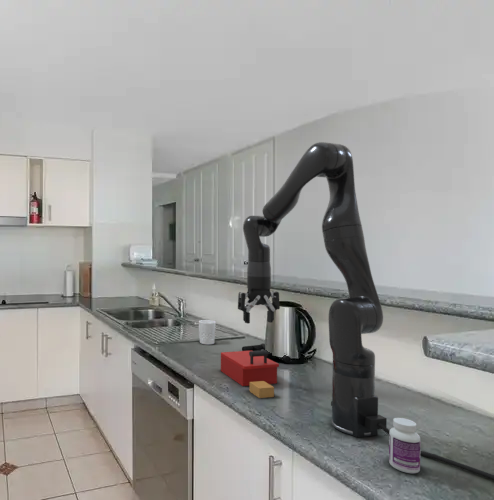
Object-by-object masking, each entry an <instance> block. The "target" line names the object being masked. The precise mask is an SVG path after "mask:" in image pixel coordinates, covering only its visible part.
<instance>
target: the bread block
mask: <svg viewBox="0 0 494 500" xmlns="http://www.w3.org/2000/svg"><path fill="white" fill-rule="evenodd" d="M249 392H250V393H251V394H253V395H254V396H256V397H257V398H258V399H265V398H266V399H267V398H274V397H275V387H274V386H273V385H272V384H268V383H266V382H265V381H256V382H250V386H249Z"/></svg>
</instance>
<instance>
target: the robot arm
mask: <svg viewBox="0 0 494 500" xmlns="http://www.w3.org/2000/svg"><path fill="white" fill-rule="evenodd" d="M354 169H355V168H354V159H353V155H352V152H351V150H350V148H349V147H347V146H346V145H344V144H340V143H334V142H326V141H325V142H324V141H319V142H315V143H313V144H312V145H311V146H310V147H308V148H307V149H306V151H305V152H304V153H303V155H302V156H301V158H299V161H298V162H297V163H296V165H295V167H294V168H293V169H292V170H291V173H290V174H289V175H288V177H287V179H286V180H285V182H284V183H283V184H282V186H281V187H279V190H278V191H277V192H276V193H275V194H274V195H273V196H272V197H271V198H270V199H269V200H268V201H267V202H266V203H265V204H264V206H262V207H263V208H262V215H249V216H247V217H245V219H244V221H243V224H242V231H243V235H244V236H243V237H244V241H245V243H246V246H247V247H246V248H247V267H246V268H247V269H246V276H247V277H246V278H247V279H246V287H247V290H246V291H247V292H242V291H239V292H238V295H237V310H239V311H242V320H243V322H244V323H245V324H250V323H251V312H250V311H251V310H252V309H253V308H254V307H255V306H264V307H266V309H267V311H266V321H267V323H271V324H272V323H273V322H274V320H275V311H277V310H280V308H281V307H280V293H279V291H275V290H271V288H272V267H271V248H270V245H268V244H267V243H264V242H262V240H261V238H260V237H263V238H264V237H270V236H271V235H273V234H275V232H276V231H277V230H278V227H279V226H280V224H281V222H282V221H283V219H284V218H286V216H287V215H288V214H289V213H291V211H293V209H295V207H296V206H297V204H298V203H299V200H300V195H301V192H302V190H303V188H304V187H305V186H306V185H307V184H308V183H310V182H311V181H312V180H314V179H315V178H316V177H317V178H325V179H326V181H327V185H328V191H329V200H328V203H327V207H326V210H325V212H324V214H323V218H322V222H321V232H322V238H323V244H324V248H325V251H326V253H327V255H328V257H329V258H330V259H331V261H332V262H333V264H334V265H335V266H336V268H337V269H338V270H339V272H340V273H341V275H342V277H343V279H344V280H345V281H344V282H345V283H346V288H347V291H348V297H341V298H337V299H335V300H334V301H332V303H331V304H330V306H329V310H328V319H327V320H328V338H329V342H328V343H329V346H330V350H331V352H332V375H331V376H332V378H331V379H332V383H331V385H332V386H331V387H332V388H331V391H332V392H331V401H330V406H331V425H332V427H333V428H334V429H335V430H337V431H339V432H342V433H343V434H347V435H351V436H354V437H355V438H364V437H371V436H378V435H379V434H378V432H379V431H378V430H382V431H384V432H385V433H386V434H387V435H388V436H389V431H390V429H389V428H388V427H387V420H388V419H387V418H386V417H385V416H383V415H381V414H379V397H378V396H377V395H376V394H375V391H376V390H375V387H376V386H375V385H376V383H375V381H376V354H375V352H374V351H373V350H371V349H370V348H367V347H364V346H363V340H362V335H365V334H366V335H367V334H373V333H376V332H378V331H379V330H381V328H382V326H383V323H384V312H383V308H382V304H381V301H380V298H379V295H378V291H377V288H376V285H375V281H374V279H373V275H372V271H371V266H370V261H369V257H368V253H367V248H366V241H365V236H364V235H365V234H364V230H363V224H362V221H361V216H360V212H359V205H358V200H357V193H356V185H355V171H354ZM270 298H271V300H270ZM246 299H247V300H246ZM420 457H425V458H429V459H433V460H436V461H439V462H441V463H444V464H448V465H450V466H453V467H456V468H459V469H461V470H465V471H467V472H470V473H473V474H476V475H478V476H481V477H484V478H486V479H489V480H492V481H494V474H492V473H489V472H488V471H487V472H486V471H484V470H481V469H478V468H475V467H472V466H471V465H466V464H464V463H461V462H458V461H455V460H452V459H449V458H447V457H444V456H440V455H438V454H435V453H431V452H427V451H423V450H420Z"/></svg>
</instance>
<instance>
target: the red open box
mask: <svg viewBox="0 0 494 500" xmlns="http://www.w3.org/2000/svg"><path fill="white" fill-rule="evenodd" d="M220 372H221V373H223V374H224V375H226V376H227V377H229V378H230V379H231V380H233V381H234V382H236V383H238V384H239V385H240V386H242V387H250V382H256V381H265V382H266V383H268V384H270V385H273V384H277V383H278V367H270V368H257V369H243V368H241V367H240V366H238V365H236V364H235V363H233V362H231V361H230V360H228V359H227V358H225V357H223V356H222V355H221V354H220Z"/></svg>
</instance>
